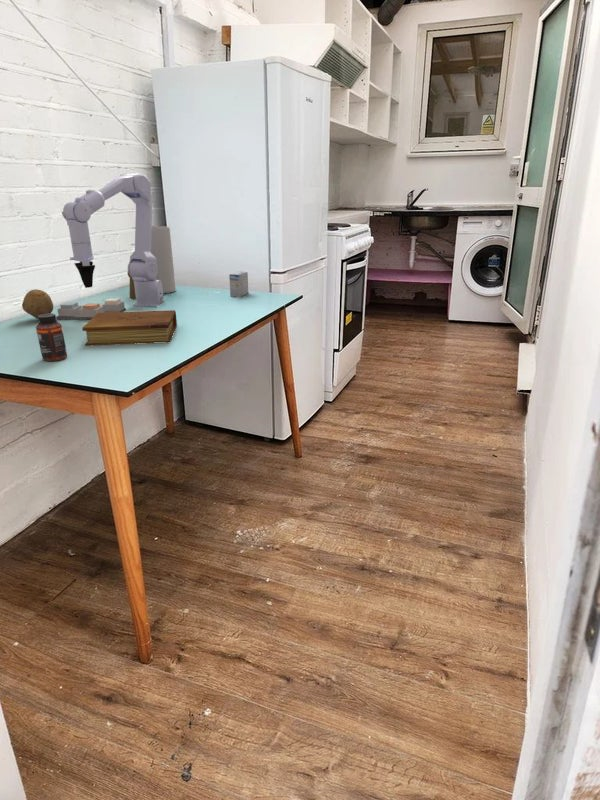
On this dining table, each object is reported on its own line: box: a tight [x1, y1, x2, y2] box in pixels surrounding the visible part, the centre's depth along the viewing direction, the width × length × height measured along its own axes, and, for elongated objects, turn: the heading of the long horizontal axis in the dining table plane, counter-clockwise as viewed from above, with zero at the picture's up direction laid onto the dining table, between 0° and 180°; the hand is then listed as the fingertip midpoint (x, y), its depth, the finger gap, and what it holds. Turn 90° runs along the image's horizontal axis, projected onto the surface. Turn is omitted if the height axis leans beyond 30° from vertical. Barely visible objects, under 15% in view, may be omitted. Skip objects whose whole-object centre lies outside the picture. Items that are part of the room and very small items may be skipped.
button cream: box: [104, 298, 122, 304], centre depth 184 cm, size 4×4×2 cm
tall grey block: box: [141, 225, 176, 294], centre depth 215 cm, size 12×12×25 cm
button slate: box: [59, 301, 79, 309], centre depth 179 cm, size 4×4×2 cm
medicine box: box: [228, 270, 249, 298], centre depth 210 cm, size 8×4×9 cm, turn 162°
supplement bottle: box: [35, 312, 68, 362], centre depth 135 cm, size 6×6×11 cm
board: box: [56, 300, 127, 321], centre depth 182 cm, size 18×14×3 cm
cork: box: [127, 272, 136, 300], centre depth 207 cm, size 6×6×11 cm
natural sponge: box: [21, 288, 54, 320], centre depth 174 cm, size 9×9×10 cm
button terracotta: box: [82, 302, 101, 310], centre depth 177 cm, size 4×4×2 cm
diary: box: [81, 309, 178, 347], centre depth 157 cm, size 23×19×6 cm
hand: (87, 285), depth 175 cm, fingers open, 5 cm apart
